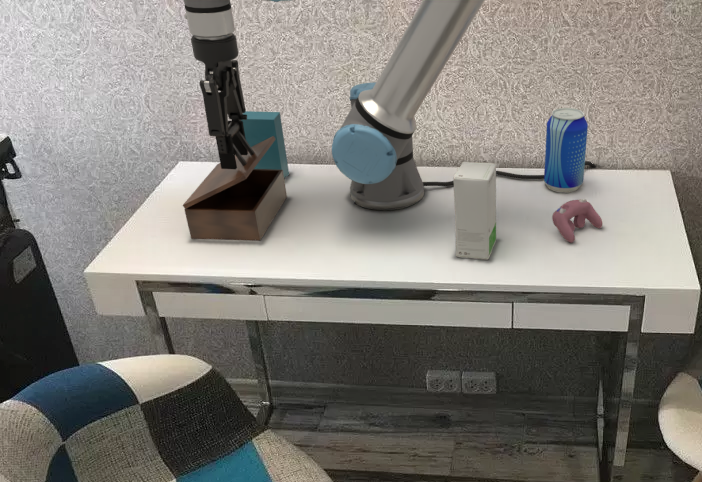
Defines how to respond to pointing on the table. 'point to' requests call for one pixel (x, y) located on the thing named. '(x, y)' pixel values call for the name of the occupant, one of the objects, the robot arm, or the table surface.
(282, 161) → the block
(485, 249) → the cosmetic box
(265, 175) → the chest
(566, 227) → the video game controller
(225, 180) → the lid
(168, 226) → the table surface
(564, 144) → the beer can
